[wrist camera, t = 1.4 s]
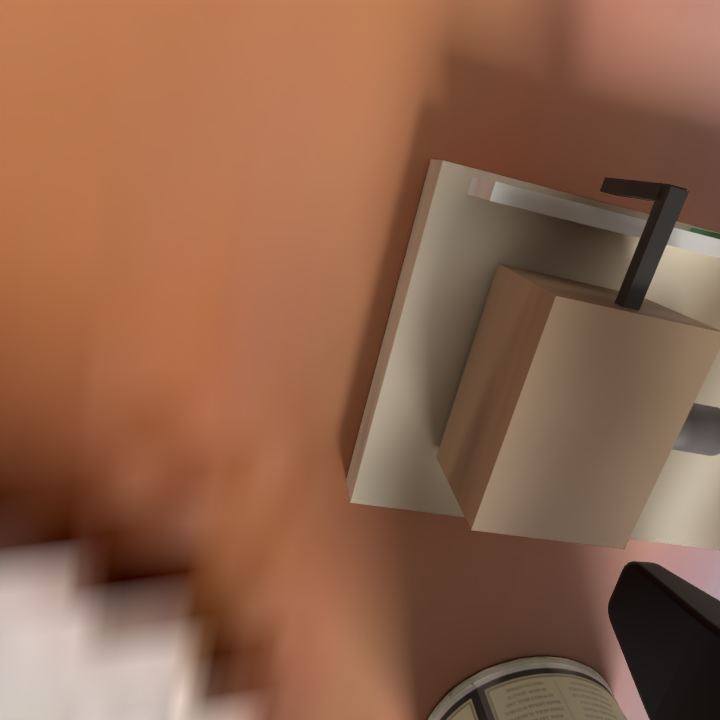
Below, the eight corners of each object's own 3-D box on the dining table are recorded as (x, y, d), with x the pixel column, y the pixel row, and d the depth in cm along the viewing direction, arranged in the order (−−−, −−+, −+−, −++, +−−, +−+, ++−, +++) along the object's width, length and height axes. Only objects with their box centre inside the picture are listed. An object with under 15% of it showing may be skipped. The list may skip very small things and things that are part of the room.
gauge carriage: (758, 219, 18) (881, 239, 14) (634, 486, 21) (707, 559, 18) (532, 158, 16) (603, 162, 13) (436, 457, 20) (471, 530, 16)
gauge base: (955, 295, 22) (1133, 336, 17) (806, 542, 26) (919, 629, 21) (430, 159, 18) (481, 164, 13) (346, 479, 22) (362, 571, 17)
